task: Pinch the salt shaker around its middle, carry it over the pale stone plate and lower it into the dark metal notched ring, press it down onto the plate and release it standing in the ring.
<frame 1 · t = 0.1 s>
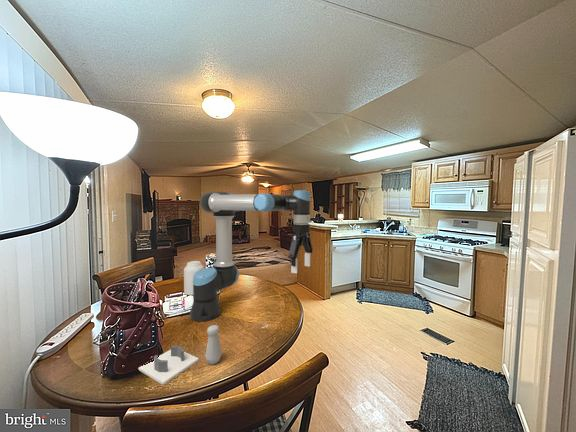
hand: (301, 269, 112), 28 cm above the table, fingers open, 13 cm apart
can: (194, 292, 158), on the table
ring socket: (169, 365, 86), on the table
salt shaker: (213, 361, 89), on the table
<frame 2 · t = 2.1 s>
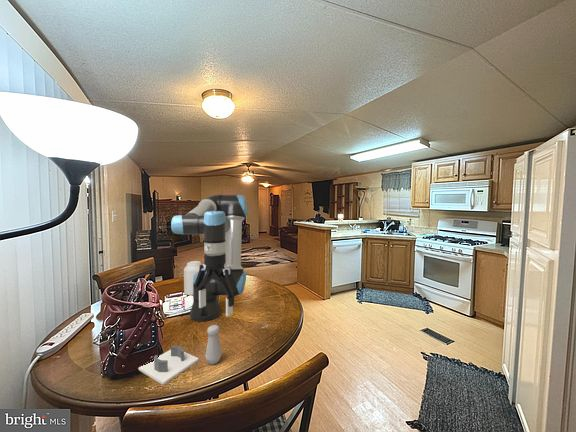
hand: (215, 310, 89), 19 cm above the table, fingers open, 13 cm apart
nothing on the table moved.
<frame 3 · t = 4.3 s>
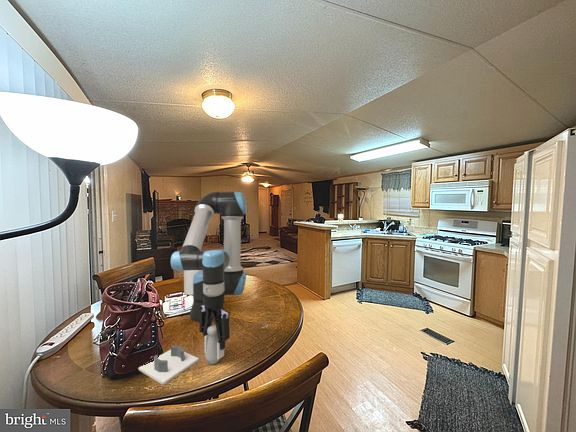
hand: (214, 354, 89), 2 cm above the table, fingers closed on salt shaker, 6 cm apart
salt shaker: (213, 361, 89), on the table, touching gripper
everything else where it was.
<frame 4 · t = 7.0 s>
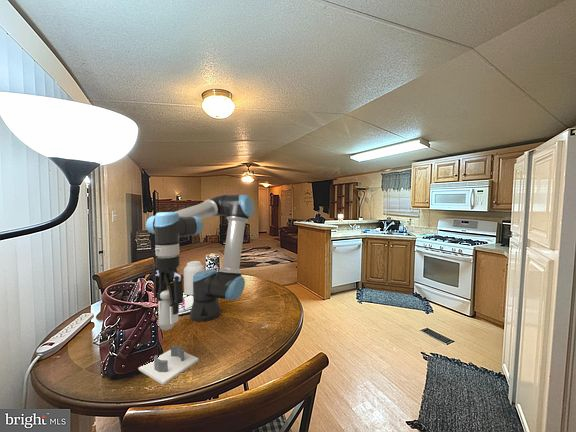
hand: (168, 320, 86), 17 cm above the table, fingers closed on salt shaker, 6 cm apart
salt shaker: (167, 327, 85), point 14 cm above the table, touching gripper
everything else where it was.
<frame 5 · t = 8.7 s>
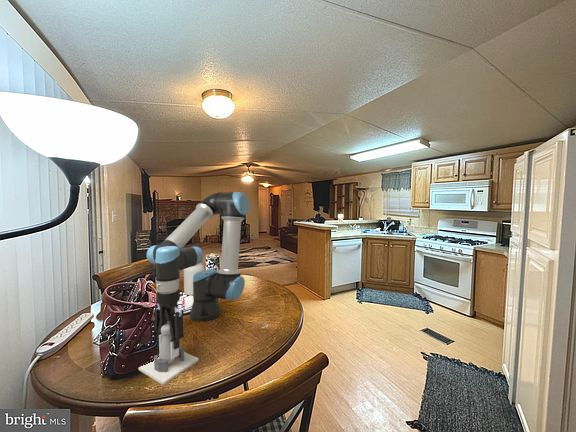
hand: (169, 353, 86), 4 cm above the table, fingers closed on salt shaker, 6 cm apart
salt shaker: (167, 361, 86), point 2 cm above the table, touching gripper
everything else where it was.
when the fingers open (3 cm above the table, at t = 9.5 s): salt shaker stays where it is, resting on ring socket.
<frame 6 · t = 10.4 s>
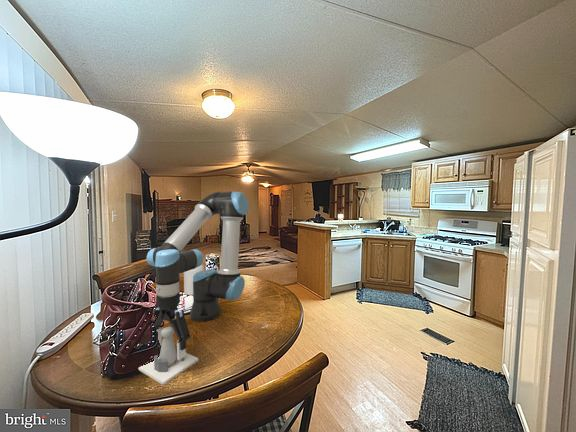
hand: (169, 351, 86), 5 cm above the table, fingers open, 13 cm apart
salt shaker: (168, 364, 86), point 1 cm above the table, touching ring socket
everything else where it was.
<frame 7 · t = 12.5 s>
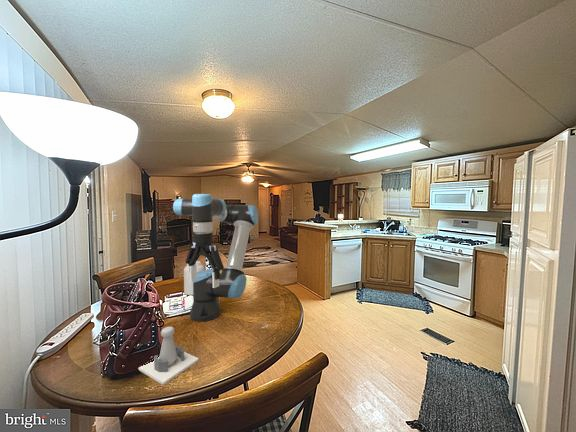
hand: (204, 283, 98), 25 cm above the table, fingers open, 13 cm apart
nothing on the table moved.
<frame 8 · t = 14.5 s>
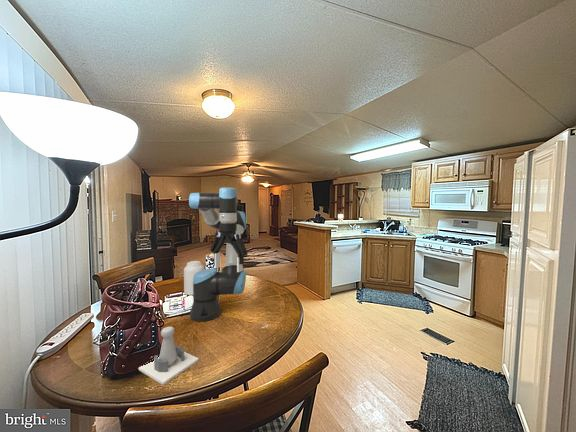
hand: (228, 269, 108), 29 cm above the table, fingers open, 13 cm apart
nothing on the table moved.
at the end: salt shaker 0.5 cm off-centre on the ring socket, point 0.6 cm above the ring socket's base; salt shaker tilted 0°; the gripper is holding nothing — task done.
